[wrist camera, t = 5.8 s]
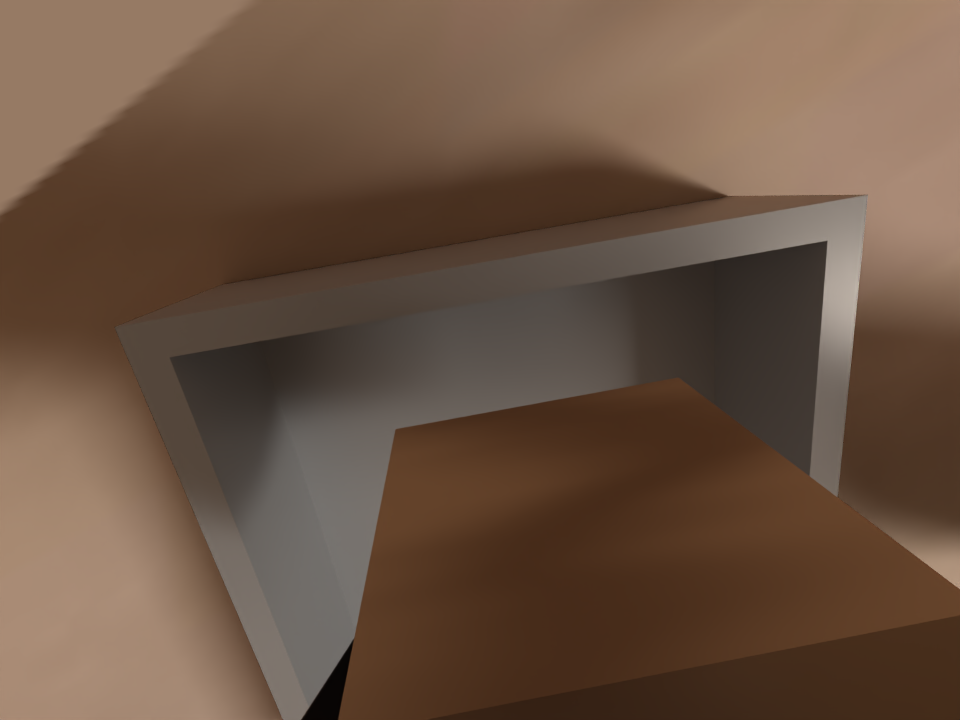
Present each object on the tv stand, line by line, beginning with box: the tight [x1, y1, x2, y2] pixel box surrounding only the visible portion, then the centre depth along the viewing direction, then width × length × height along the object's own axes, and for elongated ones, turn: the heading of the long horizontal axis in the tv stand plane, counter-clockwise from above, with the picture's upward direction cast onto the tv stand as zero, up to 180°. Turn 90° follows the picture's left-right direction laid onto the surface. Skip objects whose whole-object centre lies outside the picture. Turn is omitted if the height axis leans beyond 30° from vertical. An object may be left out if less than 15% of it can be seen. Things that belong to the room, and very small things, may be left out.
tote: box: [115, 195, 868, 720], centre depth 15 cm, size 16×20×5 cm
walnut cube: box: [338, 378, 960, 720], centre depth 7 cm, size 5×5×5 cm
